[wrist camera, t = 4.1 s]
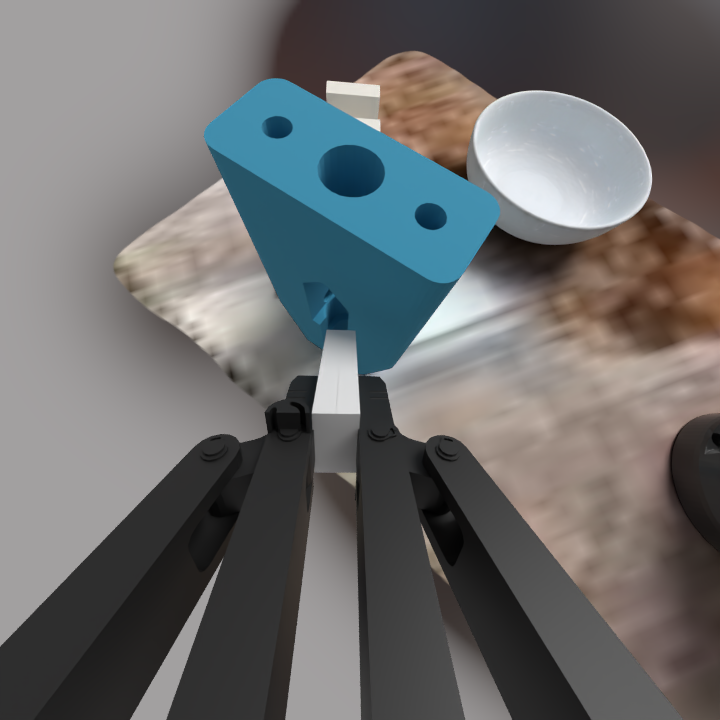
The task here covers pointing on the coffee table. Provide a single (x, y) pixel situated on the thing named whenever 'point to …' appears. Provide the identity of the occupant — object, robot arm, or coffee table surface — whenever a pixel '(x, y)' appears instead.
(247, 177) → the block
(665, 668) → the coffee table surface
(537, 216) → the serving bowl
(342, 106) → the domino
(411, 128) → the coffee table surface
